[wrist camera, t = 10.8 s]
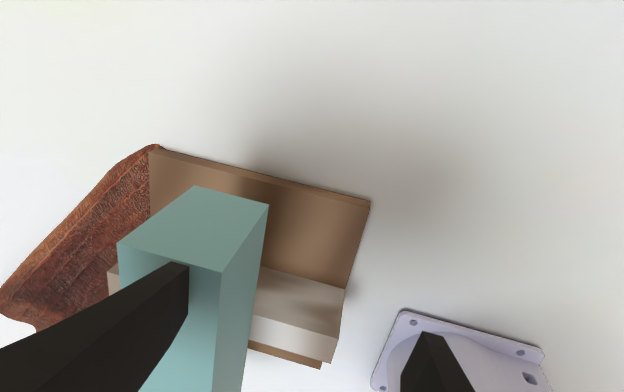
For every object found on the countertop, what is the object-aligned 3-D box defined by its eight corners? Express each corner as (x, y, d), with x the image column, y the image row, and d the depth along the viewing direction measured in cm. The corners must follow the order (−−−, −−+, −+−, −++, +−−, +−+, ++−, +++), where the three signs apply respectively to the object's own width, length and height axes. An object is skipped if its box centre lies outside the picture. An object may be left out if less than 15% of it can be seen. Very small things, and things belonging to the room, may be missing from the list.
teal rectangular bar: (237, 412, 22) (201, 508, 17) (186, 397, 22) (138, 486, 17) (268, 204, 15) (221, 272, 10) (194, 185, 15) (116, 242, 10)
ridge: (370, 201, 19) (368, 247, 15) (321, 358, 25) (310, 425, 21) (158, 147, 20) (96, 175, 16) (161, 310, 26) (116, 364, 22)
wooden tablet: (143, 122, 19) (251, 255, 20) (168, 118, 21) (265, 239, 22) (-20, 304, 29) (57, 385, 30) (8, 289, 31) (78, 366, 32)
